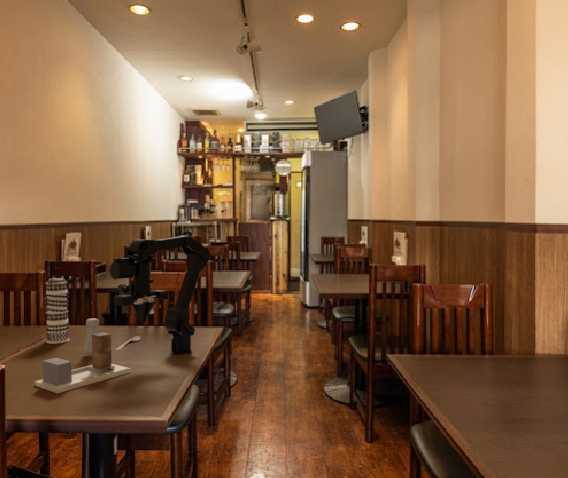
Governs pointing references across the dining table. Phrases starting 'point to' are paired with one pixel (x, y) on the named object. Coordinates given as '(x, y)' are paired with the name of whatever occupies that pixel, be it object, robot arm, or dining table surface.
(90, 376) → the gauge board
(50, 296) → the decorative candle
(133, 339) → the spoon
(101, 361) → the gauge slider
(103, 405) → the dining table surface
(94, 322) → the salt shaker
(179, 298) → the robot arm
